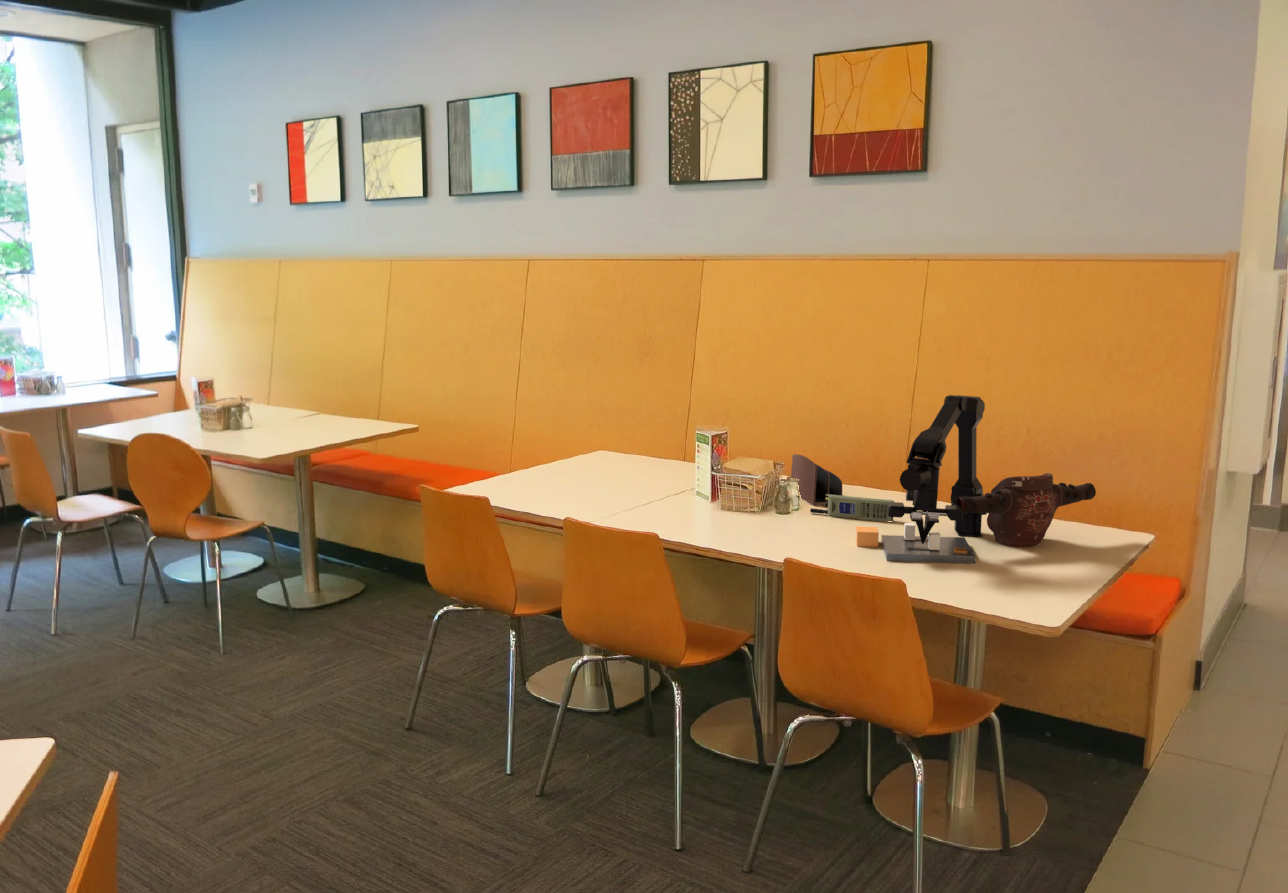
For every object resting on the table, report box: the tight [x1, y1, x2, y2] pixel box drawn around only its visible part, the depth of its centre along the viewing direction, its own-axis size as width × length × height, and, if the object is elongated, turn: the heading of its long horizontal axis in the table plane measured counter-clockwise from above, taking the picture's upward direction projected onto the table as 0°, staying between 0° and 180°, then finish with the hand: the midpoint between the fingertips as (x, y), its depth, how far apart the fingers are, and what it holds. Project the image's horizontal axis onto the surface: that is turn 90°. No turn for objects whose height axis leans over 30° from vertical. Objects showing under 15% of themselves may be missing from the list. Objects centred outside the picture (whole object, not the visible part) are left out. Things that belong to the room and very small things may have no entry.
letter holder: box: [790, 454, 843, 507], centre depth 339 cm, size 10×20×14 cm, turn 14°
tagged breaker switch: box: [928, 531, 941, 550], centre depth 273 cm, size 3×3×4 cm
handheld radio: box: [809, 494, 895, 522], centre depth 315 cm, size 7×3×25 cm
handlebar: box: [956, 472, 1097, 548], centre depth 283 cm, size 45×13×20 cm, turn 111°
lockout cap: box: [855, 526, 879, 548], centre depth 286 cm, size 6×6×4 cm
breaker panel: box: [880, 534, 976, 565], centre depth 277 cm, size 22×18×2 cm
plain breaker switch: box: [903, 522, 916, 540], centre depth 282 cm, size 3×3×4 cm
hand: (922, 543), depth 273 cm, fingers closed
